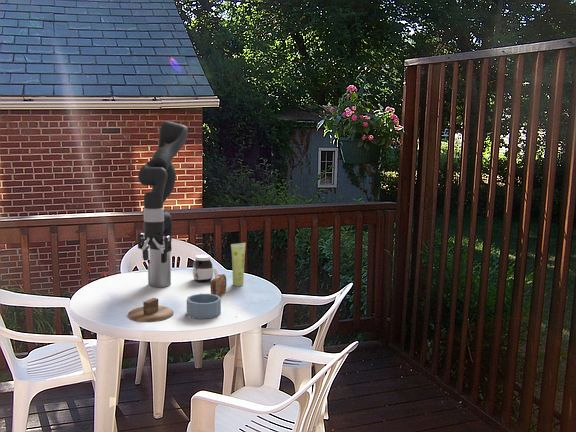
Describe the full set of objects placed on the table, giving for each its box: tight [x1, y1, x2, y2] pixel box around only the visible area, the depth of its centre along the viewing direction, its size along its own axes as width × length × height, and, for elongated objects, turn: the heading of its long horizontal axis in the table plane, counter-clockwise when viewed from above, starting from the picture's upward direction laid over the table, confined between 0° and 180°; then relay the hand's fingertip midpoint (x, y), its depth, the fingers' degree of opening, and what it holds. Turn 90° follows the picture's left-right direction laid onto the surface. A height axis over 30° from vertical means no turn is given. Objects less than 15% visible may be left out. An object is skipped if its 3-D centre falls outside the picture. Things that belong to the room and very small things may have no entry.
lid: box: [127, 297, 174, 323], centre depth 227 cm, size 17×17×6 cm
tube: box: [230, 242, 247, 287], centre depth 268 cm, size 6×5×20 cm
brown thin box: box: [210, 274, 227, 298], centre depth 253 cm, size 15×3×8 cm, turn 168°
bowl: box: [186, 293, 222, 320], centre depth 229 cm, size 13×13×6 cm
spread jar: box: [192, 254, 220, 283], centre depth 275 cm, size 12×11×12 cm
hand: (154, 261), depth 225 cm, fingers open, 8 cm apart
